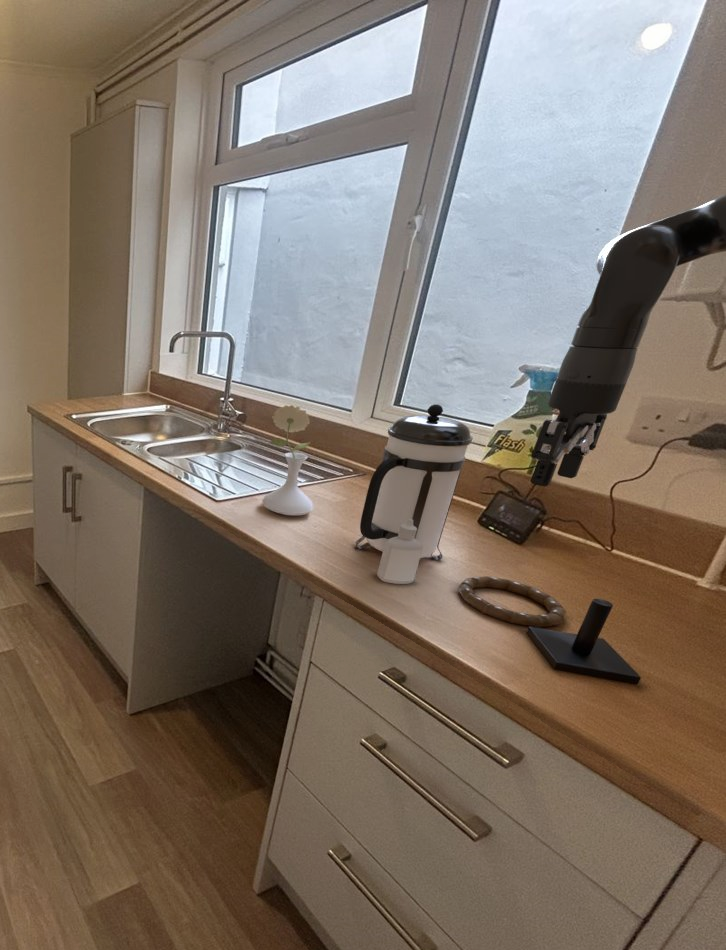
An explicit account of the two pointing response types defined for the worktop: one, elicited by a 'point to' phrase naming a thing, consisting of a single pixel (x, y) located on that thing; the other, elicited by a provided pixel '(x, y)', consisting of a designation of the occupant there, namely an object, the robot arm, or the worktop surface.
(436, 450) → the coffee press
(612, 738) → the worktop surface
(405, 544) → the eye dropper bottle
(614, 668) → the stand
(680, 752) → the worktop surface
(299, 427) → the flower in vase
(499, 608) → the ring
